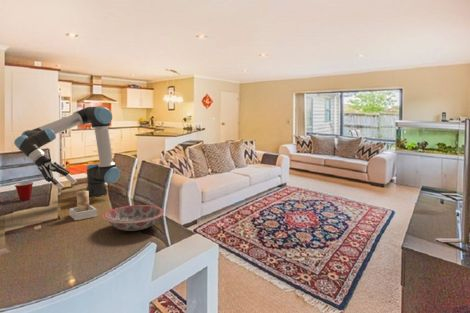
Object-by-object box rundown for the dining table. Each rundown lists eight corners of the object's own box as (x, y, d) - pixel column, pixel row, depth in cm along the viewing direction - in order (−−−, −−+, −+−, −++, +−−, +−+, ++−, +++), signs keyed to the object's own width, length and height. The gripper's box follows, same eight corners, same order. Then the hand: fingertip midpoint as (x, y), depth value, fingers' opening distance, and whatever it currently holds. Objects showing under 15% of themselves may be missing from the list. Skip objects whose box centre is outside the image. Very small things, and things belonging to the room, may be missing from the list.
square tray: (91, 211, 173) (90, 205, 172) (97, 216, 164) (97, 209, 164) (69, 215, 165) (69, 208, 164) (75, 220, 156) (75, 213, 156)
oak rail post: (87, 211, 169) (86, 190, 167) (90, 214, 164) (90, 191, 163) (76, 213, 165) (75, 191, 163) (79, 216, 160) (78, 193, 159)
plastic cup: (17, 198, 198) (16, 181, 197) (36, 197, 202) (35, 180, 201) (12, 202, 188) (11, 184, 187) (32, 201, 193) (31, 183, 191)
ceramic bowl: (143, 215, 168) (143, 202, 167) (175, 227, 149) (175, 212, 148) (92, 228, 145) (92, 213, 144) (123, 244, 127) (122, 226, 126)
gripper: (49, 160, 173) (75, 185, 175) (19, 166, 148) (51, 195, 150) (57, 152, 172) (84, 176, 175) (29, 156, 148) (61, 185, 150)
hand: (68, 185), depth 162 cm, fingers open, 13 cm apart
